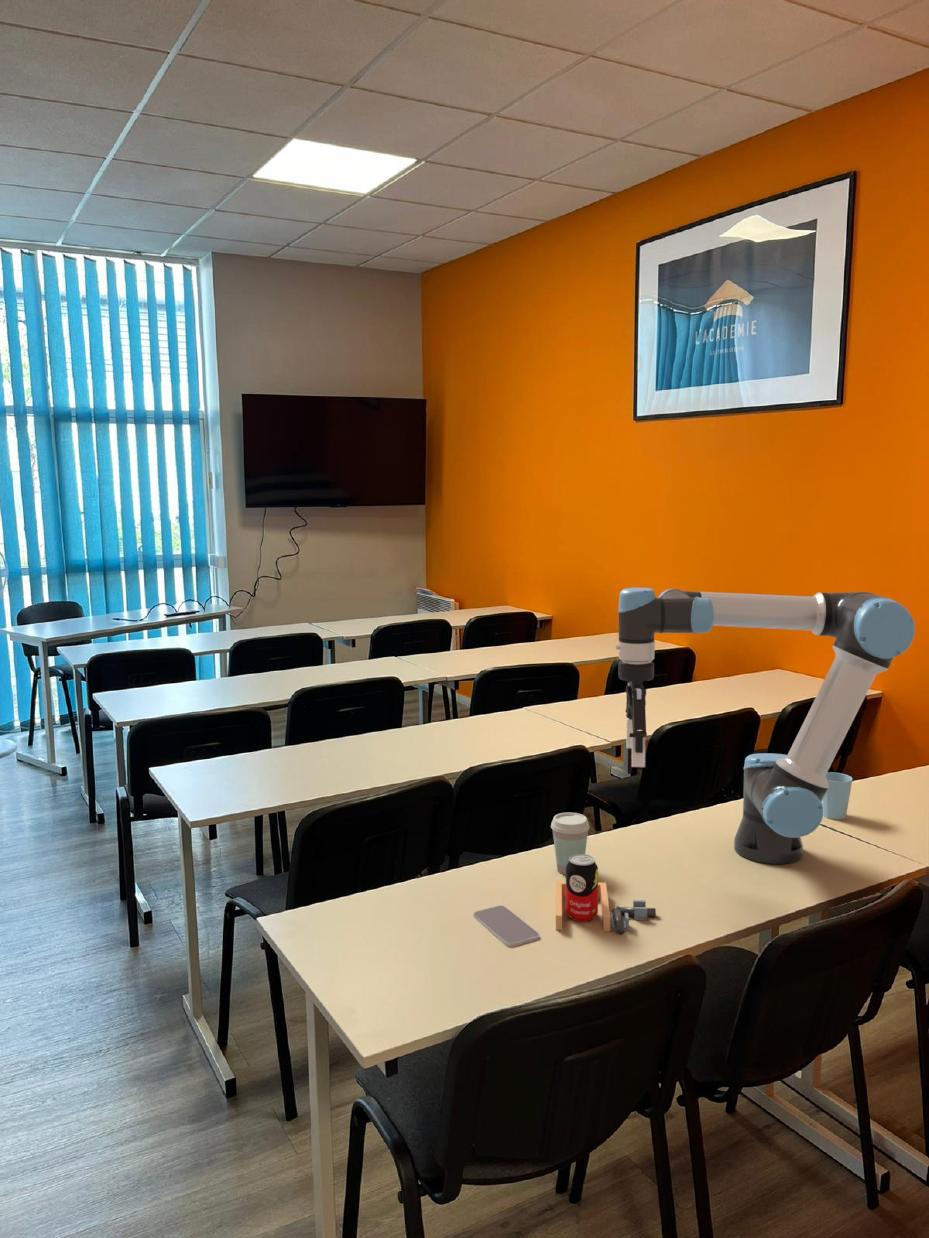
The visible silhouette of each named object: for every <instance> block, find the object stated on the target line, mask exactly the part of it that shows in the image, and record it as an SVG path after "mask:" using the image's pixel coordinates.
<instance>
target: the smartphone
mask: <svg viewBox="0 0 929 1238" xmlns="http://www.w3.org/2000/svg"><path fill="white" fill-rule="evenodd" d="M472 917H473V918H474V919H475V920H476V921H478V922H479V923H480V924H481V925H482V926H483V927H484V928H485V929H487V930H488V931H489V932H490V933H491V934H492V935H493V936H494V937H496V938H497V940H499V941H500V942H502V944H504V946H507V947H511V948H512V947H516V946H520V945H523V944H527V943H530V942H533V941H537V940H539V939H540V932H538V931H537V930H535V928H533V927H532V926H531V925H530V924H529V923H527V922H526V921H525V920H523V919H521V917H519V916H518V915H517V914H516V913H514V912H513V911H512V910H510V909H509V908H508V907H507V906H505V905H502V904H501V905H495V906H492V907H489V908H484V909H479V910H476V911H474V912H472Z"/></svg>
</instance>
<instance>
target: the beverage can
mask: <svg viewBox="0 0 929 1238" xmlns="http://www.w3.org/2000/svg"><path fill="white" fill-rule="evenodd" d="M565 882H566V898H565V913H566V914H567V916H568V917H569V918H571V920H573V921H575V922H582V923H584V922H589V921H592V920H593V919H595V918H596V917H597V916H598V913H599V899H598V882H599V867H598V865H597V863H596V859H595V857H594V856H592V855H590V854H587V853H585V854H576V855H572V856H571V857H570V858H569V862H568V864H567V866H566V874H565Z"/></svg>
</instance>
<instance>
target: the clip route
mask: <svg viewBox="0 0 929 1238" xmlns="http://www.w3.org/2000/svg"><path fill="white" fill-rule="evenodd" d="M656 914H657V910H656V908H655V907H647V905H646V900H644V899H643V900H639V899H638V900H637V899H633V900H632V907H631V906H630V907H627V906H626V907H625V906H619V905H615V906H614V907H613V908H612V912H611V911H610V931H615V933H616V934H617V935H619V936H621V935H623V934H624V933H625V931H629V930H630V926H629V925H630V923H629V922H630V917H633V918H634V920H635V921H648V917H654V918H655V917H656V916H657V915H656ZM623 917H624V920H623Z"/></svg>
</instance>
